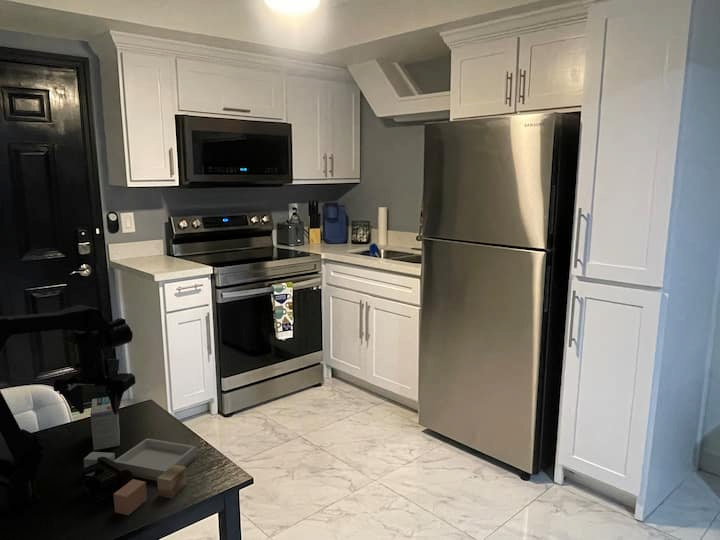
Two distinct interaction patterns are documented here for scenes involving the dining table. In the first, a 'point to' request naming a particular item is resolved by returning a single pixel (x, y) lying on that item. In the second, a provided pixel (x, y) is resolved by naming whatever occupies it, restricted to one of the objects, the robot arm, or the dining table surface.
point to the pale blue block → (93, 459)
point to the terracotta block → (130, 497)
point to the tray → (156, 458)
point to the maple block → (172, 481)
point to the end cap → (105, 479)
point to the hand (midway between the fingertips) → (99, 413)
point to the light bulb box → (104, 424)
